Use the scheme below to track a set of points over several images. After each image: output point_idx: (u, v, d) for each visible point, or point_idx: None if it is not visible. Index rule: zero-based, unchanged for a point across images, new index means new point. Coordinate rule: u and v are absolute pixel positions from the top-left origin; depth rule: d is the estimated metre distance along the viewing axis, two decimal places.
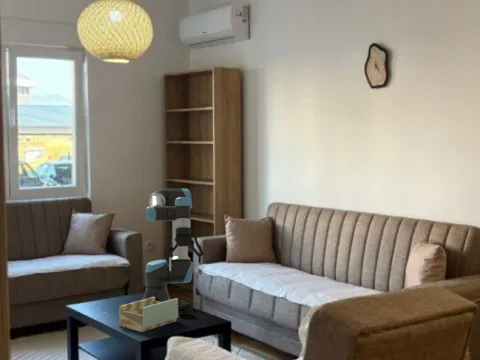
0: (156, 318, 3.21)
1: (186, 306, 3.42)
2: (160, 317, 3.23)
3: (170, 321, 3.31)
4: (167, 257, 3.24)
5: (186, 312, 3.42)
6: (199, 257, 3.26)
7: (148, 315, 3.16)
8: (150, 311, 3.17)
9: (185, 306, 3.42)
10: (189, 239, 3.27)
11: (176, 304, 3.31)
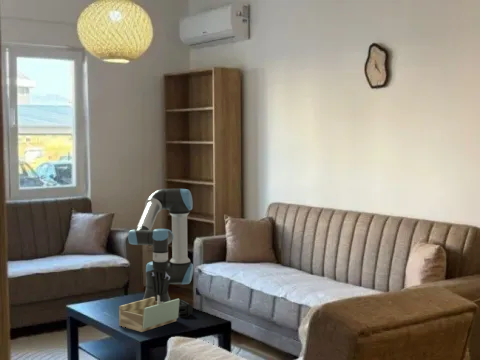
0: (157, 319, 3.21)
1: (186, 306, 3.42)
2: (160, 317, 3.23)
3: (170, 321, 3.31)
4: None
5: (186, 312, 3.42)
6: (161, 296, 3.22)
7: (149, 316, 3.16)
8: (151, 312, 3.17)
9: (185, 306, 3.42)
10: (162, 273, 3.20)
11: (177, 305, 3.31)
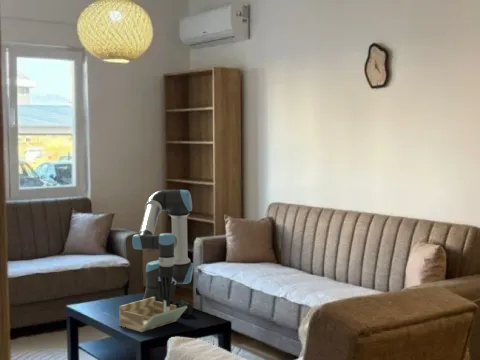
0: (158, 322, 3.20)
1: None
2: (162, 321, 3.22)
3: (170, 321, 3.31)
4: (164, 299, 3.21)
5: (186, 312, 3.42)
6: (167, 301, 3.19)
7: (153, 321, 3.14)
8: (157, 318, 3.15)
9: None
10: (169, 278, 3.17)
11: (182, 311, 3.29)
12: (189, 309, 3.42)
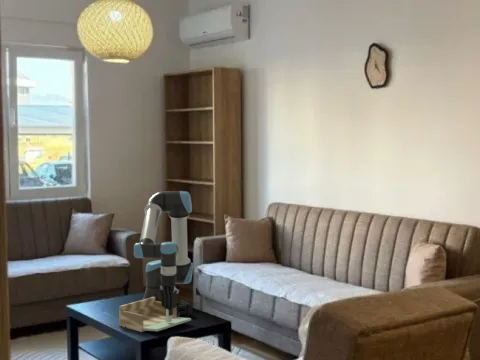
0: None
1: (186, 306, 3.42)
2: None
3: None
4: (166, 308, 3.20)
5: (186, 312, 3.42)
6: (169, 310, 3.19)
7: None
8: None
9: (185, 306, 3.42)
10: (171, 287, 3.17)
11: None
12: (189, 309, 3.42)
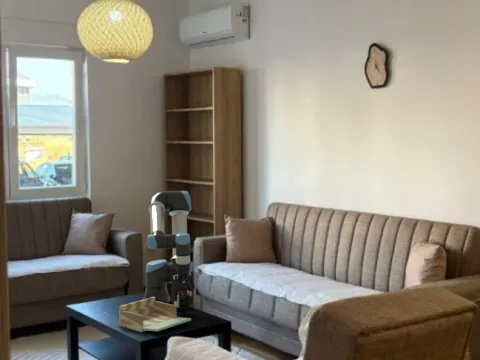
0: None
1: (186, 297, 3.42)
2: None
3: None
4: None
5: (186, 303, 3.42)
6: None
7: None
8: None
9: (185, 297, 3.42)
10: None
11: None
12: (189, 300, 3.43)
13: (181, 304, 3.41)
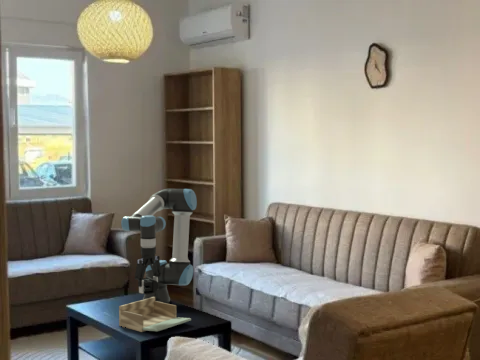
0: None
1: (151, 282, 3.24)
2: None
3: None
4: None
5: (151, 289, 3.24)
6: None
7: None
8: None
9: (150, 282, 3.24)
10: None
11: None
12: (155, 286, 3.24)
13: (146, 290, 3.23)
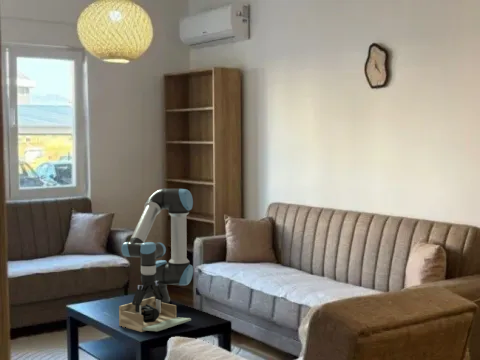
0: None
1: (152, 311, 3.25)
2: None
3: None
4: None
5: (152, 317, 3.25)
6: None
7: None
8: None
9: (151, 311, 3.25)
10: None
11: None
12: (155, 314, 3.25)
13: (146, 318, 3.24)
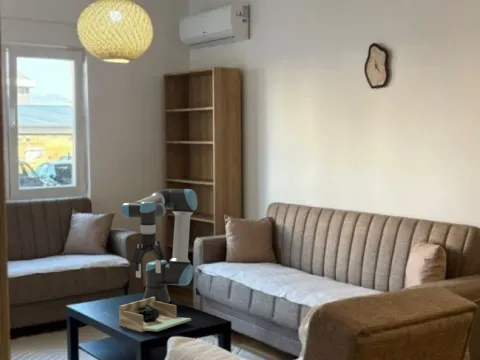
0: None
1: (152, 311, 3.25)
2: None
3: None
4: None
5: (152, 317, 3.25)
6: None
7: None
8: None
9: (151, 311, 3.25)
10: None
11: None
12: (155, 314, 3.25)
13: (146, 318, 3.24)
